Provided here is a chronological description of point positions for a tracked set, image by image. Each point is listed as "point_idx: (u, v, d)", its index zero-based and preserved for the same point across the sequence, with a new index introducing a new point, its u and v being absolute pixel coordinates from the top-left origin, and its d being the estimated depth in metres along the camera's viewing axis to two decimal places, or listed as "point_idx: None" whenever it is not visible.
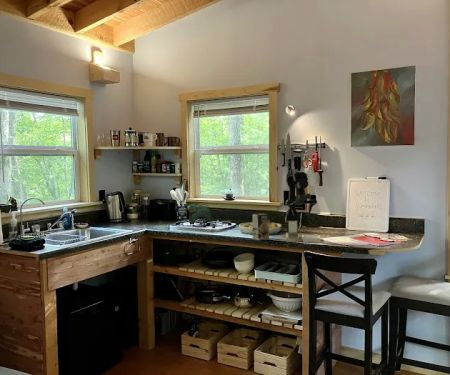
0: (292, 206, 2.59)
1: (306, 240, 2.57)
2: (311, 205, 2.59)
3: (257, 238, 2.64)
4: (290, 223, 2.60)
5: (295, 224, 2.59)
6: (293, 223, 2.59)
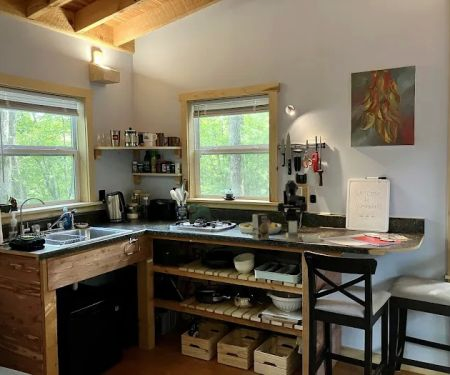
0: (283, 208, 2.72)
1: (306, 240, 2.57)
2: (301, 207, 2.71)
3: (257, 238, 2.64)
4: (290, 223, 2.60)
5: (295, 224, 2.59)
6: (293, 223, 2.59)
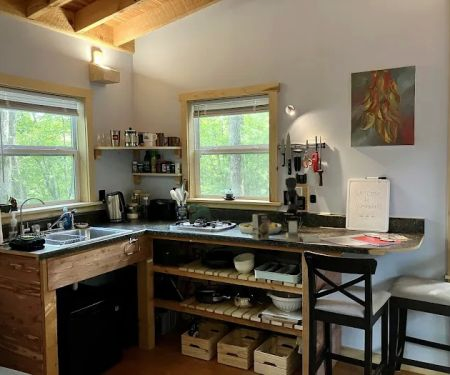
0: (283, 216, 2.66)
1: (306, 240, 2.57)
2: (302, 216, 2.64)
3: (257, 238, 2.64)
4: (290, 223, 2.60)
5: (295, 224, 2.59)
6: (293, 223, 2.59)
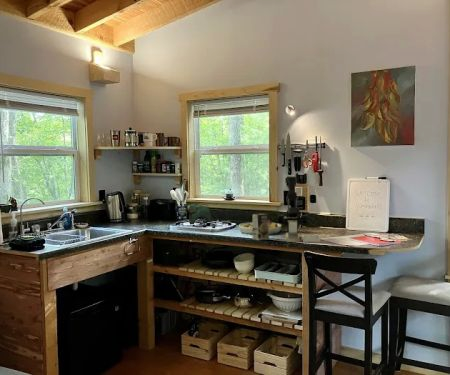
0: (286, 220, 2.63)
1: (306, 240, 2.57)
2: (299, 220, 2.62)
3: (257, 238, 2.64)
4: (290, 223, 2.60)
5: (295, 224, 2.59)
6: (293, 223, 2.59)
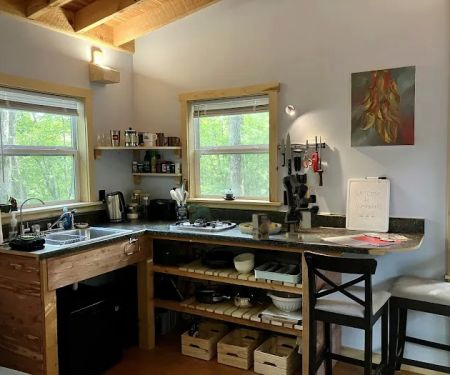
0: (299, 211, 2.61)
1: (306, 240, 2.57)
2: (311, 210, 2.62)
3: (257, 238, 2.64)
4: (304, 214, 2.58)
5: (309, 214, 2.58)
6: (307, 214, 2.58)
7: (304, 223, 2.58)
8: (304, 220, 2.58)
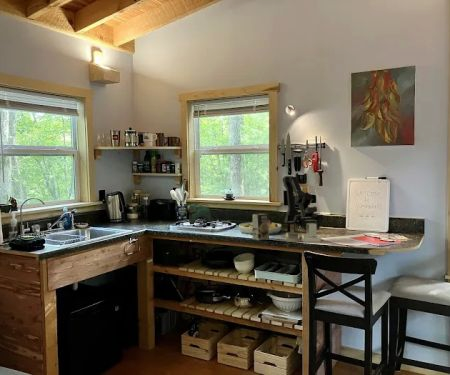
0: (302, 220, 2.61)
1: (306, 240, 2.57)
2: (318, 219, 2.63)
3: (257, 238, 2.64)
4: (310, 226, 2.59)
5: (314, 226, 2.59)
6: (313, 226, 2.59)
7: (310, 235, 2.59)
8: (310, 232, 2.59)
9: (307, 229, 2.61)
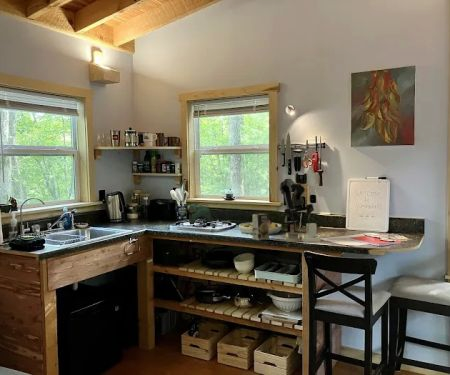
0: (290, 214, 2.74)
1: (306, 240, 2.57)
2: (307, 209, 2.71)
3: (257, 238, 2.64)
4: (310, 226, 2.59)
5: (314, 226, 2.59)
6: (313, 226, 2.59)
7: (310, 235, 2.59)
8: (310, 232, 2.59)
9: (307, 229, 2.61)
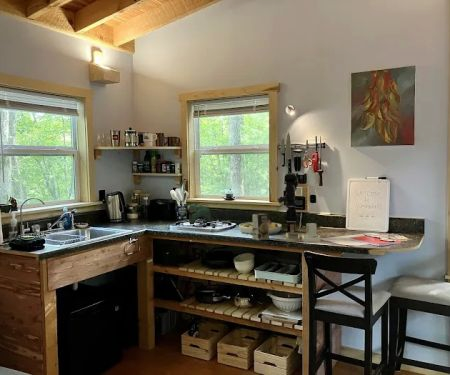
0: None
1: (306, 240, 2.57)
2: (287, 207, 2.75)
3: (257, 238, 2.64)
4: (310, 226, 2.59)
5: (314, 226, 2.59)
6: (313, 226, 2.59)
7: (310, 235, 2.59)
8: (310, 232, 2.59)
9: (307, 229, 2.61)
